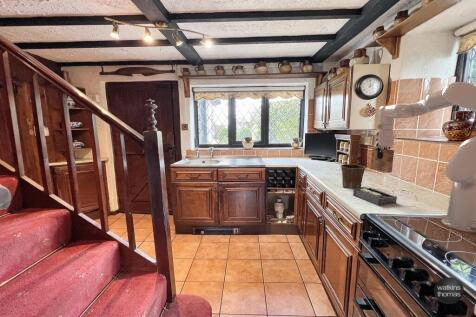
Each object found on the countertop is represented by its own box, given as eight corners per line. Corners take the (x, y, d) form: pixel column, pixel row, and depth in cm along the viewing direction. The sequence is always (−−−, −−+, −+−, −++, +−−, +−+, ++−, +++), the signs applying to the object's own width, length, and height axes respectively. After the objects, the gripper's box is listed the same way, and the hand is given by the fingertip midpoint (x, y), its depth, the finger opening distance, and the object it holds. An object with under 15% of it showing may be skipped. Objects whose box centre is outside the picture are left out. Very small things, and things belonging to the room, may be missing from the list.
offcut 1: (371, 199, 137) (372, 191, 136) (366, 199, 136) (367, 191, 135) (364, 196, 142) (364, 188, 141) (359, 196, 141) (360, 189, 140)
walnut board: (391, 172, 129) (394, 150, 127) (387, 172, 128) (390, 150, 126) (374, 168, 140) (376, 148, 138) (370, 168, 140) (372, 148, 138)
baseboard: (395, 207, 128) (422, 211, 122) (396, 202, 127) (422, 206, 122) (390, 192, 154) (412, 195, 148) (391, 188, 154) (413, 191, 148)
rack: (395, 204, 130) (396, 196, 129) (377, 207, 126) (378, 198, 126) (369, 195, 147) (370, 187, 147) (352, 196, 144) (353, 189, 143)
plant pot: (340, 189, 159) (342, 167, 157) (337, 183, 175) (339, 163, 172) (366, 191, 155) (368, 169, 152) (360, 185, 170) (362, 164, 167)
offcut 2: (380, 202, 131) (381, 194, 130) (375, 203, 130) (376, 195, 129) (372, 199, 136) (373, 191, 135) (368, 200, 135) (369, 192, 134)
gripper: (379, 127, 125) (376, 159, 127) (401, 127, 129) (398, 158, 132) (368, 127, 132) (365, 157, 135) (389, 127, 136) (386, 156, 139)
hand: (381, 157), depth 133 cm, fingers closed on walnut board, 3 cm apart
